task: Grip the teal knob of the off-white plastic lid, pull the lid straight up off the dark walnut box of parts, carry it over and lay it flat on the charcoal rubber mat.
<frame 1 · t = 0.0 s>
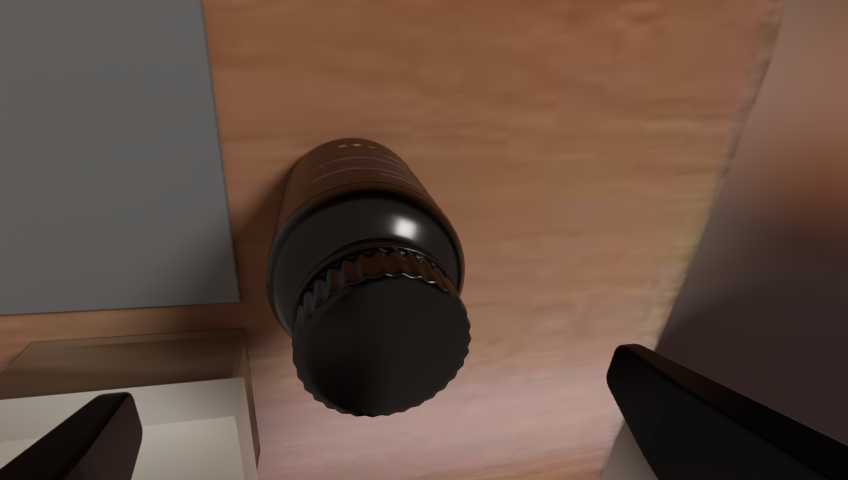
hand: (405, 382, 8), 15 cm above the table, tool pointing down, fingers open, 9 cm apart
mat: (47, 169, 18), on the table
supplement bottle: (353, 198, 21), on the table
parts box: (161, 403, 24), on the table
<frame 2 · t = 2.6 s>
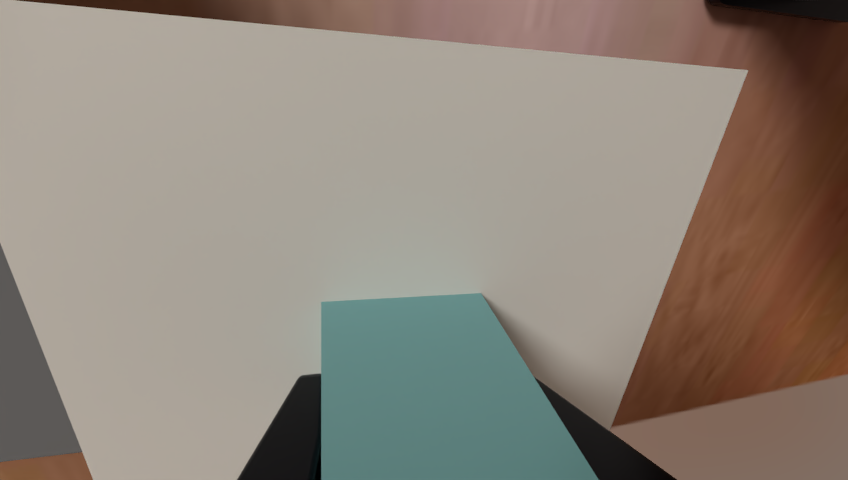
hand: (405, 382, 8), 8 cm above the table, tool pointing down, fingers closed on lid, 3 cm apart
lid: (385, 299, 10), point 5 cm above the table, touching gripper, parts box
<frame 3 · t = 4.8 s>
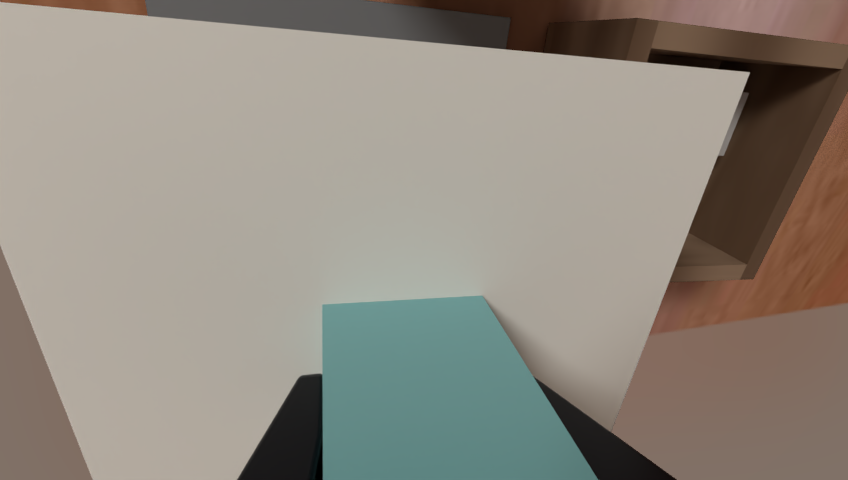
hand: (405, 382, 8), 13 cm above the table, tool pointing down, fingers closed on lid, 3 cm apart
mat: (342, 170, 19), on the table
lid: (386, 301, 10), point 11 cm above the table, touching gripper
parts box: (614, 140, 22), on the table
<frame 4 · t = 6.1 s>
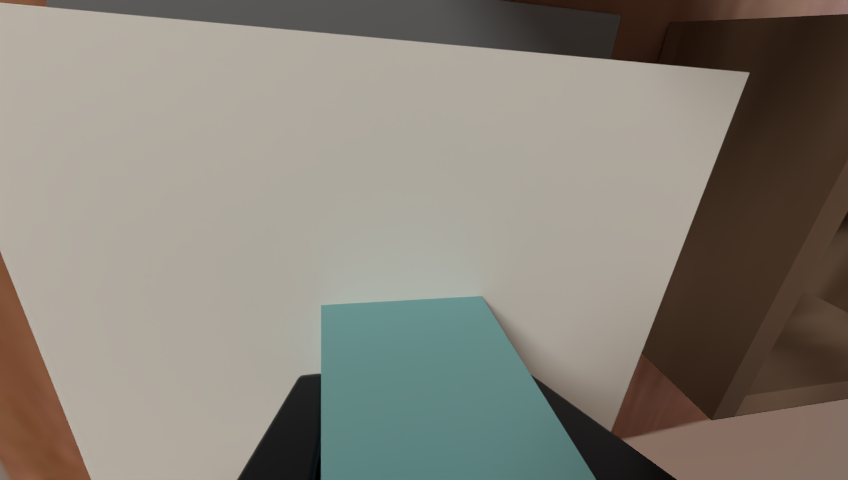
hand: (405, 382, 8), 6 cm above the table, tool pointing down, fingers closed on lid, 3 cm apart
mat: (366, 238, 13), on the table
lid: (385, 301, 10), point 4 cm above the table, touching gripper
parts box: (734, 182, 16), on the table
when the fingers open (4 cm above the table, at t = 7.2 s): lid drops 1 cm, resting on mat.
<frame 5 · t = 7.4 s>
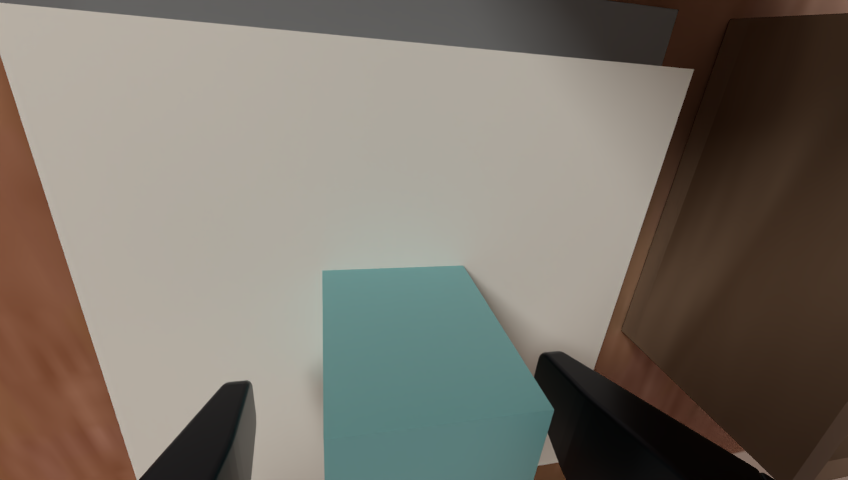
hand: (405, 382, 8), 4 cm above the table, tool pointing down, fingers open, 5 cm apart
mat: (376, 267, 12), on the table
lid: (379, 276, 11), resting on mat
parts box: (789, 200, 14), on the table
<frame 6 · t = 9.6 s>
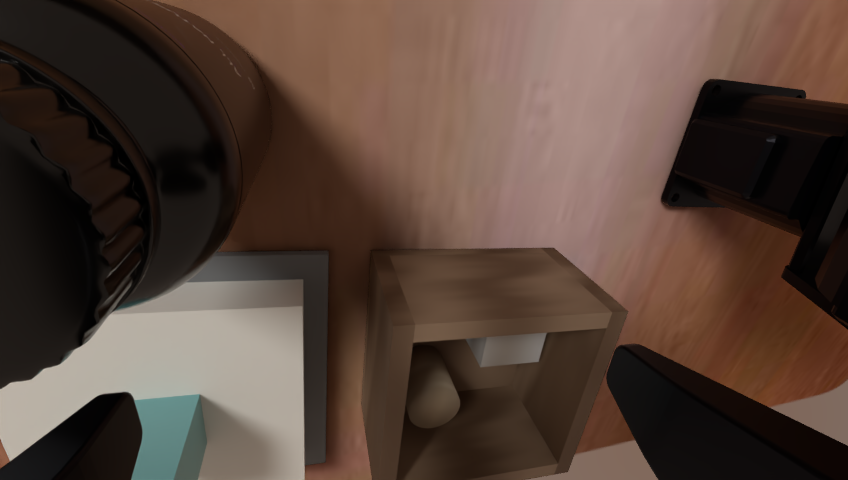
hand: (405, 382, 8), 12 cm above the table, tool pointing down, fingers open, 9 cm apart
mat: (180, 379, 20), on the table
lid: (179, 386, 20), resting on mat
supplement bottle: (176, 106, 15), on the table
parts box: (454, 328, 23), on the table
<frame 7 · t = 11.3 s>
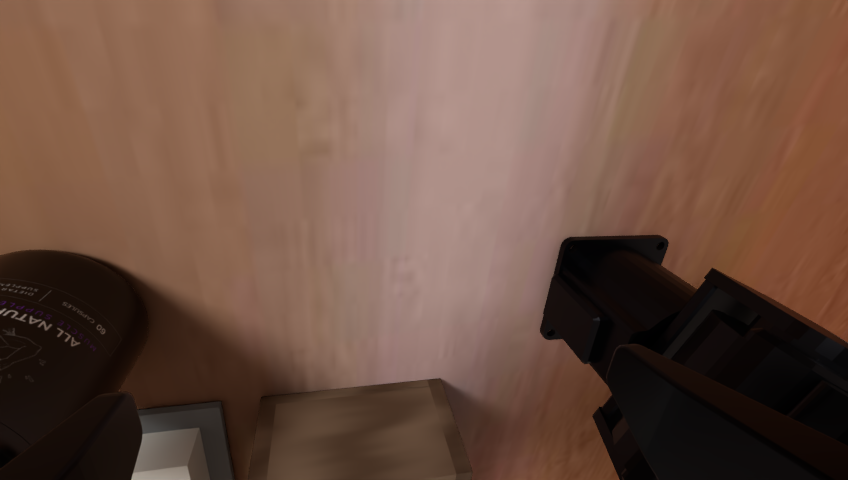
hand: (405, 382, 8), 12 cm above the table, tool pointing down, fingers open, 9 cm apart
supplement bottle: (65, 310, 18), on the table
parts box: (354, 448, 25), on the table
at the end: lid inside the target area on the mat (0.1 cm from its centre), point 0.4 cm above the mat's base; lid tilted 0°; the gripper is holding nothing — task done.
